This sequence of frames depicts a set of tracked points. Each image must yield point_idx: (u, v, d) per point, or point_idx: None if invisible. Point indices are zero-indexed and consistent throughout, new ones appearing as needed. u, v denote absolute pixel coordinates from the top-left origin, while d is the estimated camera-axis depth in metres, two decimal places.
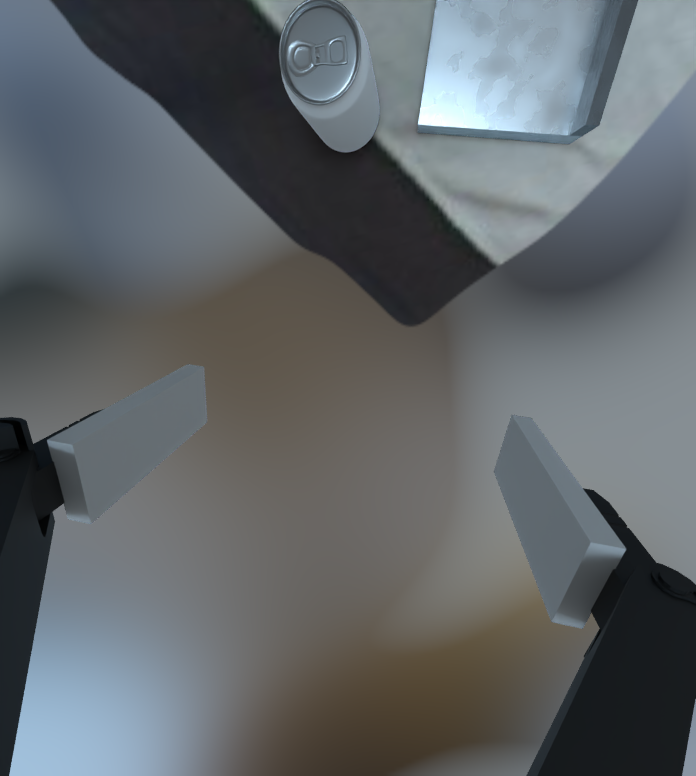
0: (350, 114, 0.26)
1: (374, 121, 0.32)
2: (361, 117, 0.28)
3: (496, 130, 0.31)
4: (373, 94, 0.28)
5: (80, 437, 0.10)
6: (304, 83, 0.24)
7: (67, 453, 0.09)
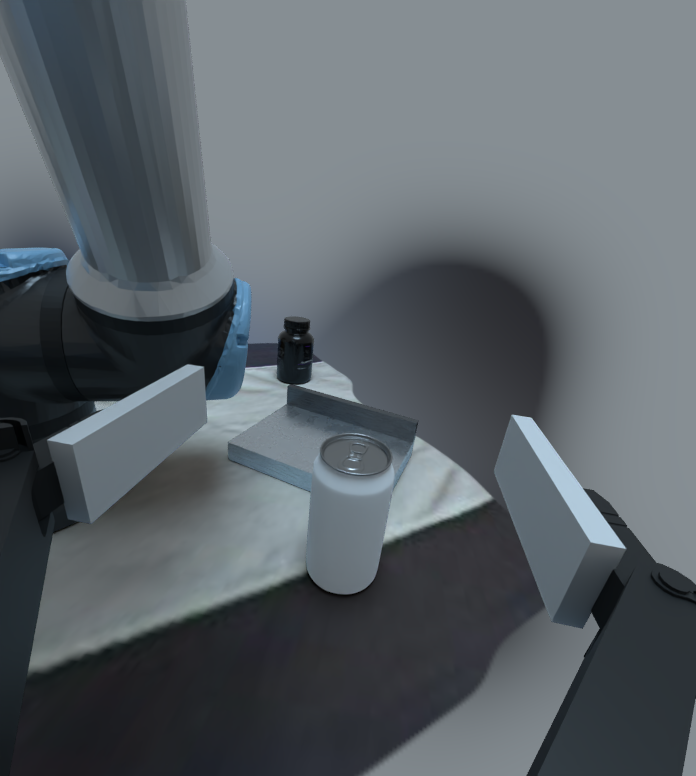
0: None
1: None
2: None
3: (399, 467, 0.42)
4: None
5: (80, 437, 0.10)
6: (370, 468, 0.26)
7: (67, 453, 0.09)
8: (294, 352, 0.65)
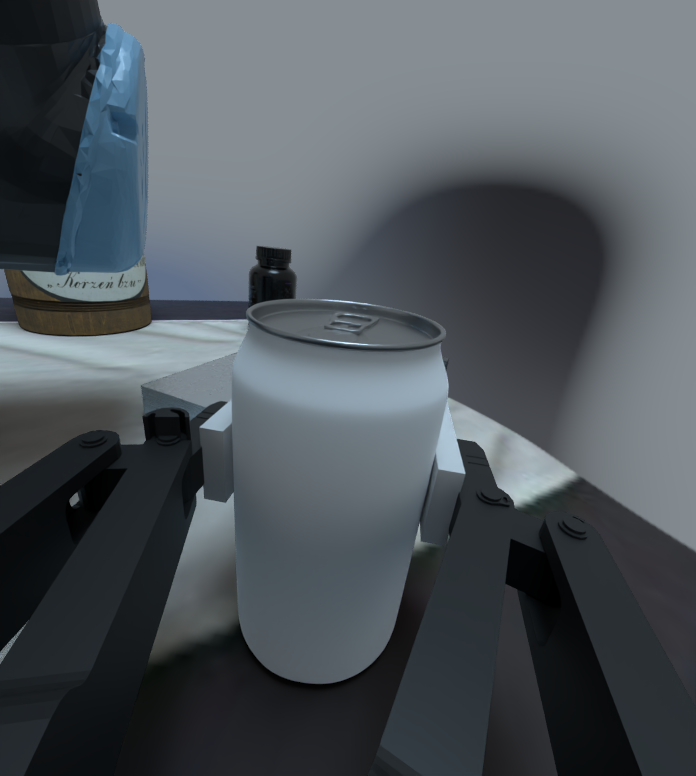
0: None
1: None
2: None
3: None
4: None
5: (225, 425, 0.11)
6: None
7: (215, 439, 0.11)
8: (269, 291, 0.48)
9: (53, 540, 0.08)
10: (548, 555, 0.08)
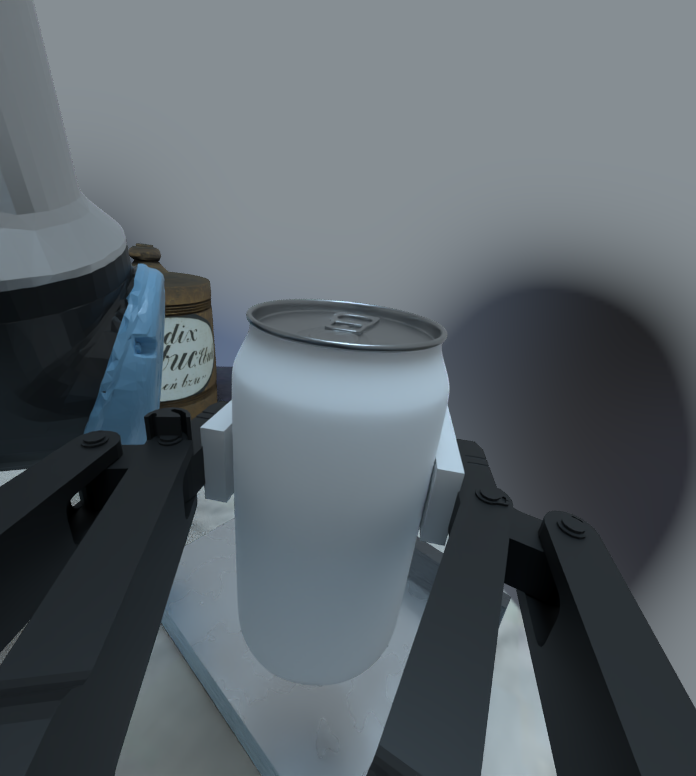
0: None
1: None
2: None
3: None
4: None
5: (226, 425, 0.11)
6: None
7: (216, 439, 0.11)
8: None
9: (54, 540, 0.08)
10: (547, 554, 0.08)
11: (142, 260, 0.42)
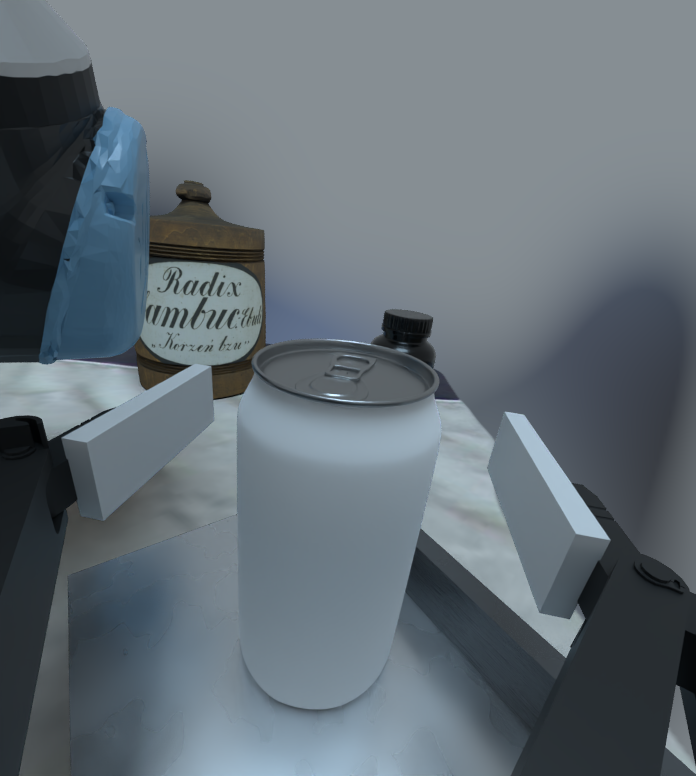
0: None
1: None
2: None
3: None
4: None
5: (94, 435, 0.10)
6: (383, 396, 0.09)
7: (81, 451, 0.10)
8: None
9: None
10: None
11: (188, 199, 0.36)
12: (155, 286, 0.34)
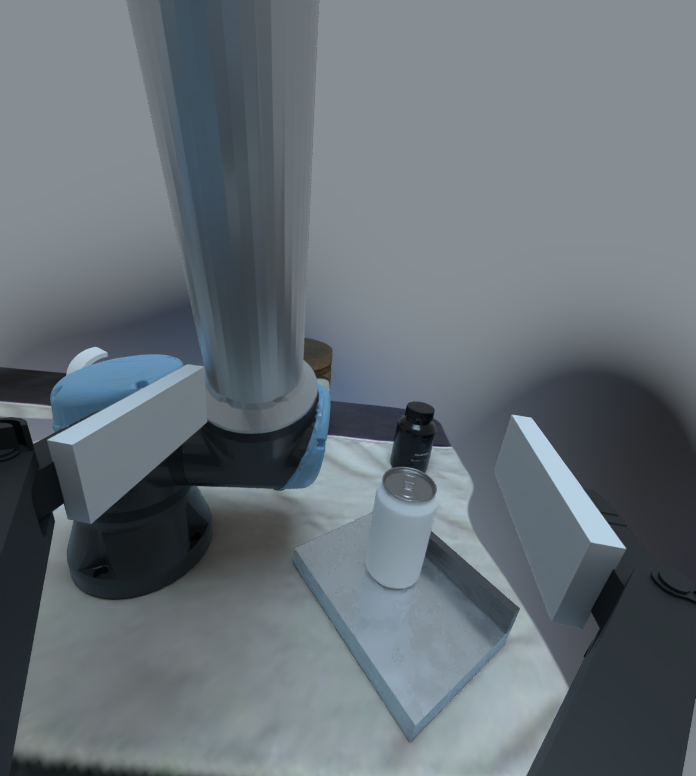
0: None
1: None
2: None
3: (468, 672, 0.32)
4: None
5: (80, 437, 0.10)
6: (421, 496, 0.35)
7: (67, 453, 0.09)
8: (409, 443, 0.60)
9: None
10: None
11: None
12: None
